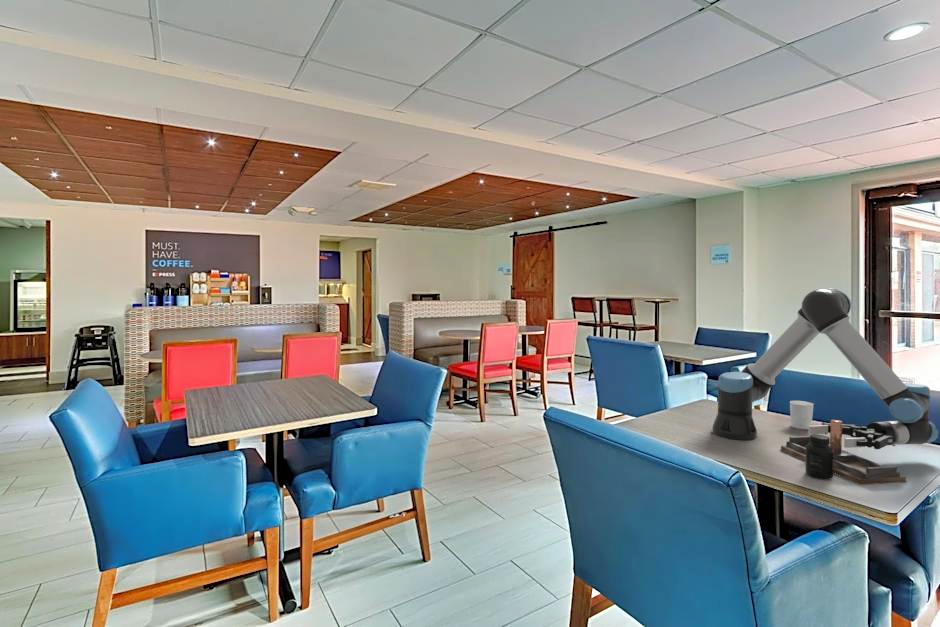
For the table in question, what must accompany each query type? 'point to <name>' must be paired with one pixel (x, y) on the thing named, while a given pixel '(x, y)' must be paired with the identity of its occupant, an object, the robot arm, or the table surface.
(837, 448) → the carriage
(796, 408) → the white cup
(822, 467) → the supplement bottle
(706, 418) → the table surface
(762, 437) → the table surface
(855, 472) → the slide board
